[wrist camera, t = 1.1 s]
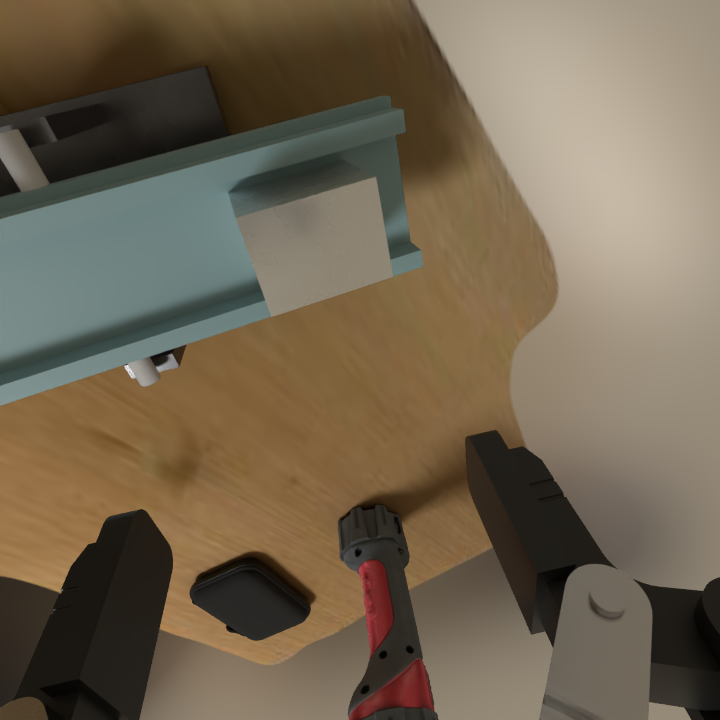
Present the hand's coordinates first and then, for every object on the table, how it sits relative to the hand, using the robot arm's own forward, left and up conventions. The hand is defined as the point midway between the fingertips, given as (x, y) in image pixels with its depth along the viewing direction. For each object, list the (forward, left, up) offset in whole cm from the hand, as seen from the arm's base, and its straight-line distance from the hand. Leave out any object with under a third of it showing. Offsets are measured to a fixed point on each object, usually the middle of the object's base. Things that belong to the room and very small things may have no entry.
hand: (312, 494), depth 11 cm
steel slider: (-2, +1, -16) cm, 16 cm away
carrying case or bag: (+44, -18, -25) cm, 54 cm away
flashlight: (+35, -2, -25) cm, 43 cm away
